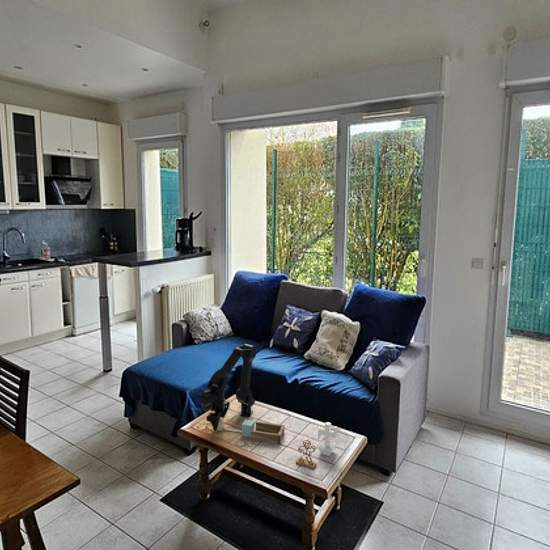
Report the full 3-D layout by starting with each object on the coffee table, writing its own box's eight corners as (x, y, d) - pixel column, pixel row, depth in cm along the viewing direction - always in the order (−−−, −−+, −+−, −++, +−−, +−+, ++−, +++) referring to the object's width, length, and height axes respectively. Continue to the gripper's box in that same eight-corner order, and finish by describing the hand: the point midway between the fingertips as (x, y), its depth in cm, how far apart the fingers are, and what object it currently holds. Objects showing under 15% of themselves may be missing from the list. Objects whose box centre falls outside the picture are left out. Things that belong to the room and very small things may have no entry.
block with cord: (219, 426, 221) (219, 415, 220) (254, 431, 217) (254, 421, 216) (215, 431, 216) (215, 420, 215) (251, 436, 212) (251, 425, 211)
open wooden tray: (256, 429, 220) (256, 421, 219) (284, 433, 216) (284, 425, 216) (250, 439, 210) (250, 431, 209) (279, 444, 206) (280, 435, 206)
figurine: (320, 445, 206) (321, 417, 203) (338, 451, 201) (340, 422, 199) (314, 453, 200) (315, 423, 197) (333, 459, 195) (334, 429, 193)
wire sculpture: (295, 463, 191) (296, 439, 189) (298, 459, 194) (299, 435, 192) (313, 469, 187) (314, 444, 185) (316, 465, 190) (317, 440, 188)
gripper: (210, 388, 227) (210, 415, 229) (196, 404, 209) (196, 433, 211) (230, 391, 224) (229, 418, 227) (217, 407, 206) (217, 436, 209)
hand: (218, 426), depth 218 cm, fingers open, 9 cm apart
